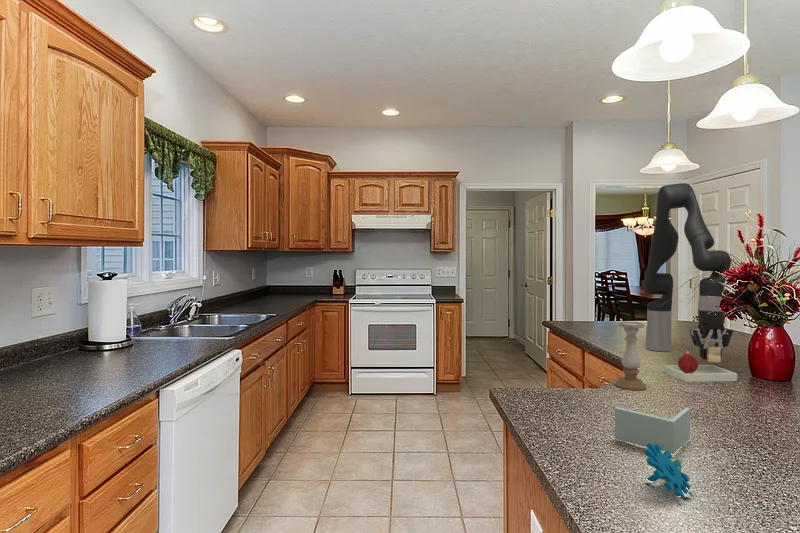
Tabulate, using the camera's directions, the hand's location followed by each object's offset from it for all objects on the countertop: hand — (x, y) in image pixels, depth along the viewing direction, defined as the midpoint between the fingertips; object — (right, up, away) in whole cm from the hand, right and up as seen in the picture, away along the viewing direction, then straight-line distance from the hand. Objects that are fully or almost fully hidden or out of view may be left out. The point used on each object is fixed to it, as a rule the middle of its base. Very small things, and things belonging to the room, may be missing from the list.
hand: (710, 358), depth 156 cm
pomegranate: (-8, -6, 0) cm, 10 cm away
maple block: (0, -1, 0) cm, 1 cm away
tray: (-4, -6, 0) cm, 7 cm away
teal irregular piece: (-57, -9, -73) cm, 93 cm away
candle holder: (-33, -7, -10) cm, 35 cm away
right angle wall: (-48, -9, -51) cm, 71 cm away
